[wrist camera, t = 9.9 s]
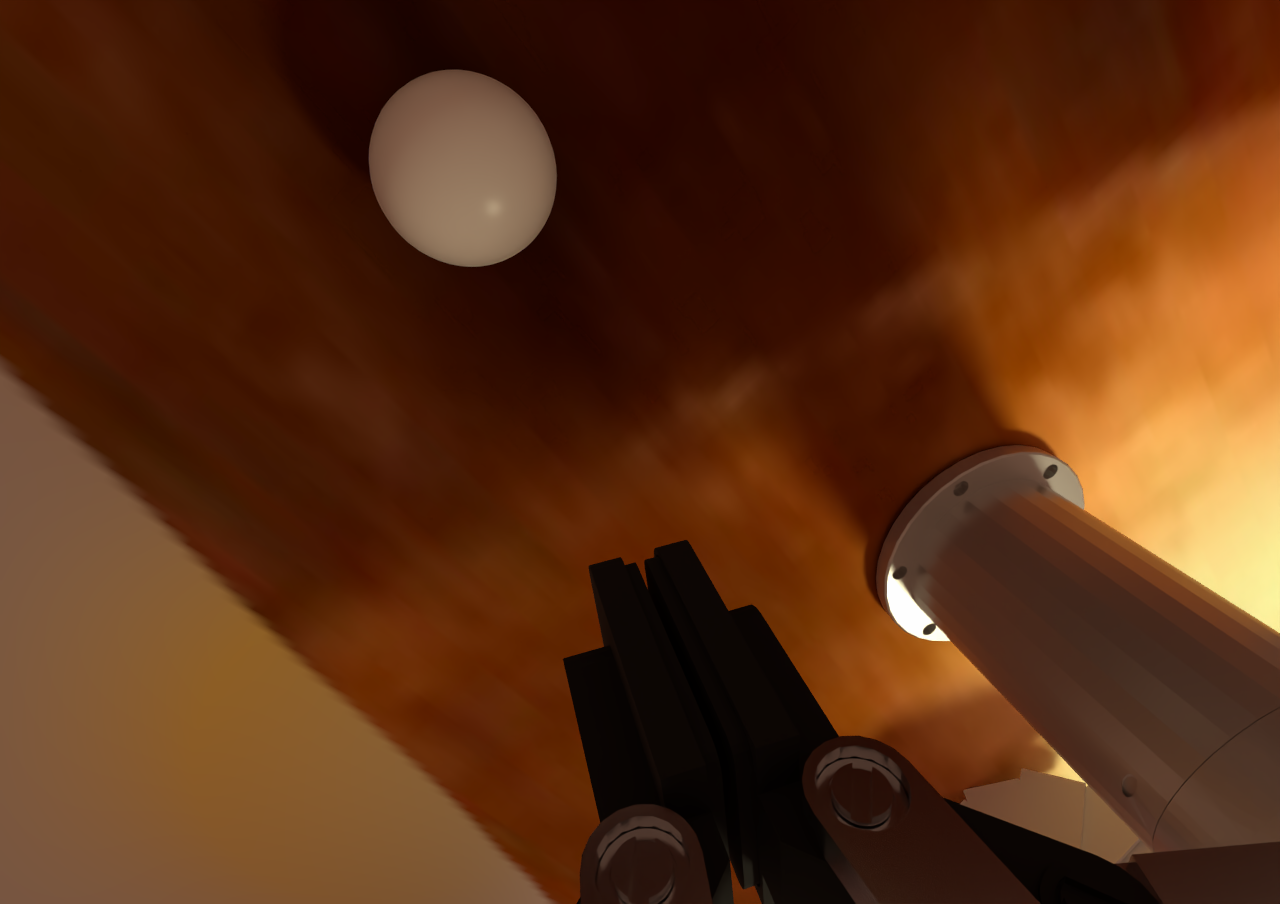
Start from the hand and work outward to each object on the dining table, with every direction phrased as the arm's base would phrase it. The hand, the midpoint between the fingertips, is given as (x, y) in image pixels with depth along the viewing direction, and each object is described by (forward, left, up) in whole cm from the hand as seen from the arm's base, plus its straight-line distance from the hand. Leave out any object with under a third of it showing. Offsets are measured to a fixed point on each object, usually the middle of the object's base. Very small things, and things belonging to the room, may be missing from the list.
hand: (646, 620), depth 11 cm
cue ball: (+6, -2, -14) cm, 16 cm away
